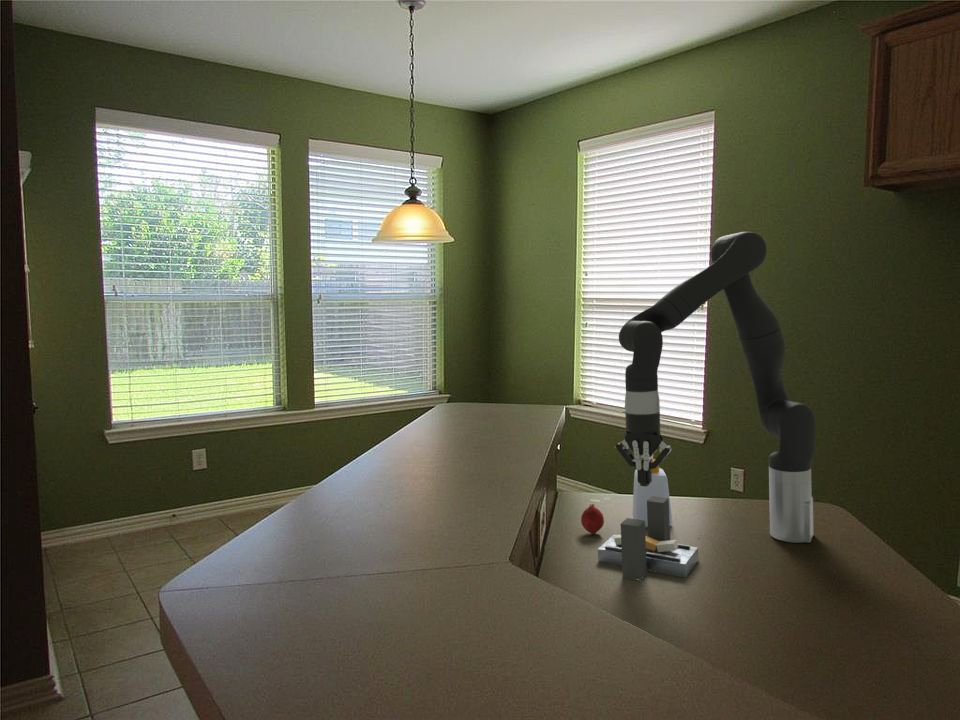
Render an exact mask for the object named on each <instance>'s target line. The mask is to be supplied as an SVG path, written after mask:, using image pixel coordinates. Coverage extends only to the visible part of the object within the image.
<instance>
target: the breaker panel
mask: <svg viewBox="0 0 960 720" xmlns="http://www.w3.org/2000/svg"><path fill="white" fill-rule="evenodd" d="M617 535H621V533H620V534H619V533H618V534H613V535H611V537H609V538H608V539H607V540H606V541H605V542H604V543H603V544H602V545H600V546H599V547H598V548H597V560H598V561H597V562H598V563H605V564H608V565H609V564H610V565H614V566H615V565H616V566H620V567H622V547H621V545H616V544H615V540H614V538H615V537H616V536H617ZM657 541H659V540H657ZM677 544H678V548H677V549H676V550H675V551H664V552H658V550H657V549H656V550H655V551H652V550H650V549H648V548H646V564H647V570H651V571H650V572H652V571H656V572H655V573H658V572H659V573H658V574H663V575H664V574H665V575H668V576H669V575H670V576H675V577H681V578H687V577H688V576H689V574H690V573H691V571H693V568H694V567H695V566H696V564H697V563H698V561H699V552H698V551H699V550H698V549H699V547H695V546H691V545H690V544H683V543H678V542H677Z"/></svg>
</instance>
